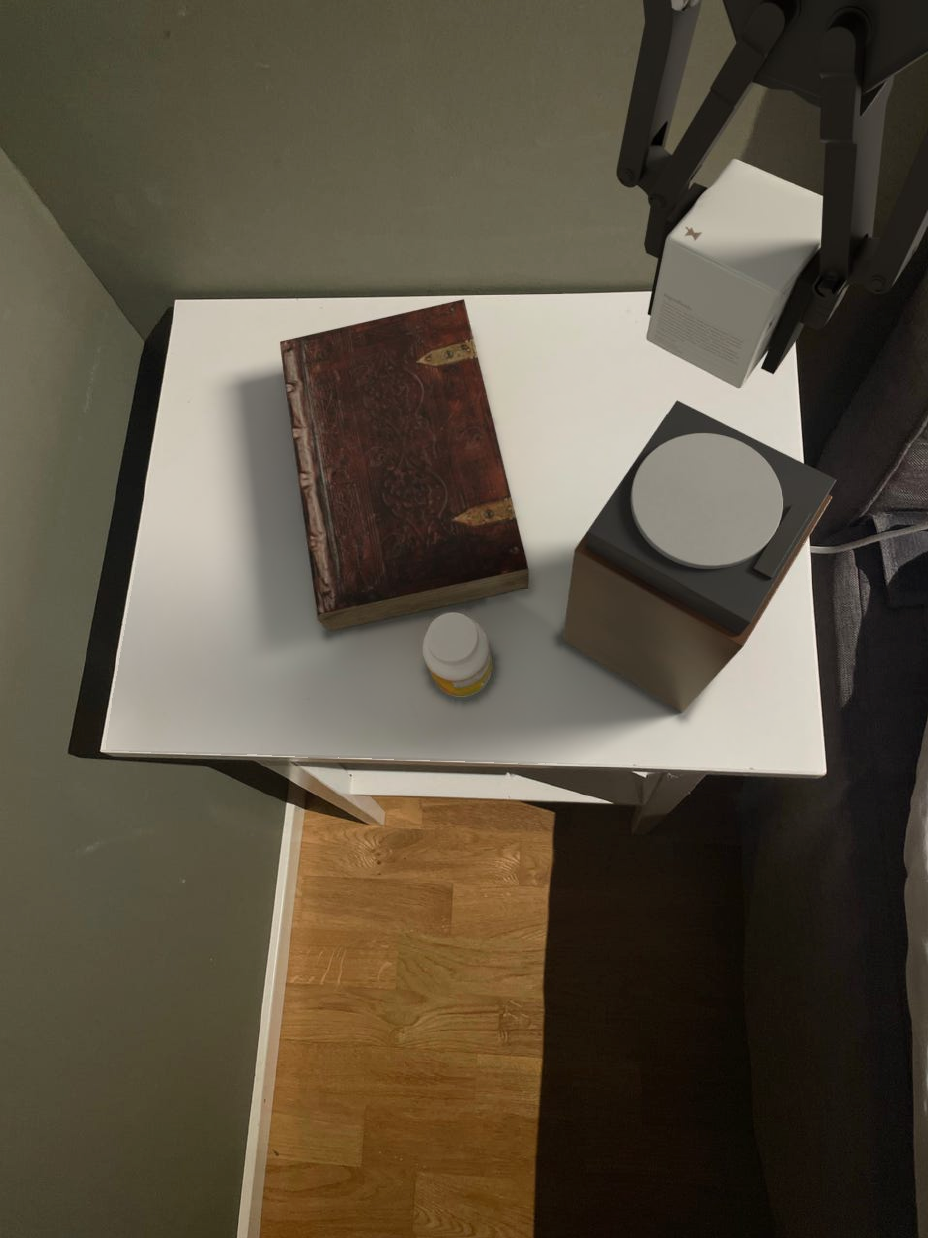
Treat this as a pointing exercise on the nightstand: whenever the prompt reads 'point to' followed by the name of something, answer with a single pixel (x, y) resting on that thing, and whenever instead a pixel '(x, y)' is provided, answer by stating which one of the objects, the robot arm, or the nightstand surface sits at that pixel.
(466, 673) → the supplement bottle
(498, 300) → the nightstand surface
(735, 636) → the riser
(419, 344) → the hardback book
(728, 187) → the product box
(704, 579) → the scale
